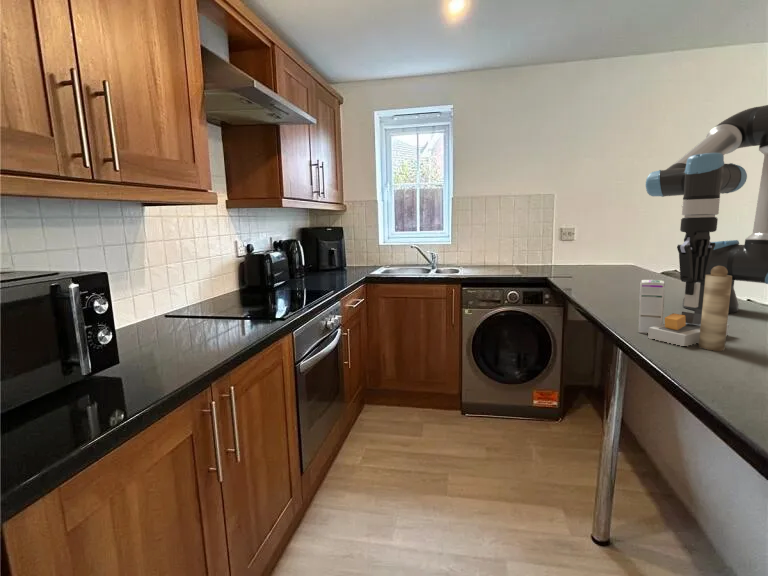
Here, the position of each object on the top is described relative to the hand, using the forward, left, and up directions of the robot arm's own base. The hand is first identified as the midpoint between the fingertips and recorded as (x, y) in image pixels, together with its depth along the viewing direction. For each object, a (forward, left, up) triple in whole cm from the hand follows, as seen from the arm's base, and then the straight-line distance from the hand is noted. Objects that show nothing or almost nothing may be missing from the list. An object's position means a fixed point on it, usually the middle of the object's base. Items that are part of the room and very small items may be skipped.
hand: (690, 306), depth 110 cm
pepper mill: (+5, +8, -8) cm, 13 cm away
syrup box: (+3, -9, -9) cm, 12 cm away
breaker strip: (0, 0, -8) cm, 8 cm away
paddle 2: (-6, 0, -5) cm, 8 cm away
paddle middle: (0, 0, -5) cm, 5 cm away
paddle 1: (+6, 0, -5) cm, 8 cm away
